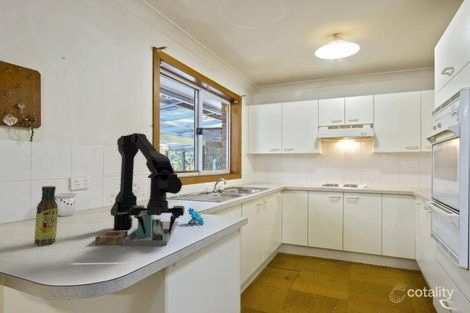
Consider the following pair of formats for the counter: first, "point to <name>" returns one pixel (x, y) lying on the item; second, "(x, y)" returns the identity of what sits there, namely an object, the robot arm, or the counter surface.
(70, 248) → the counter surface
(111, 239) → the square wooden tray
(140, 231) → the block
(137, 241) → the case
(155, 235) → the silver metal cylinder
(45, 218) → the sauce bottle
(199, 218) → the blue toy frog
